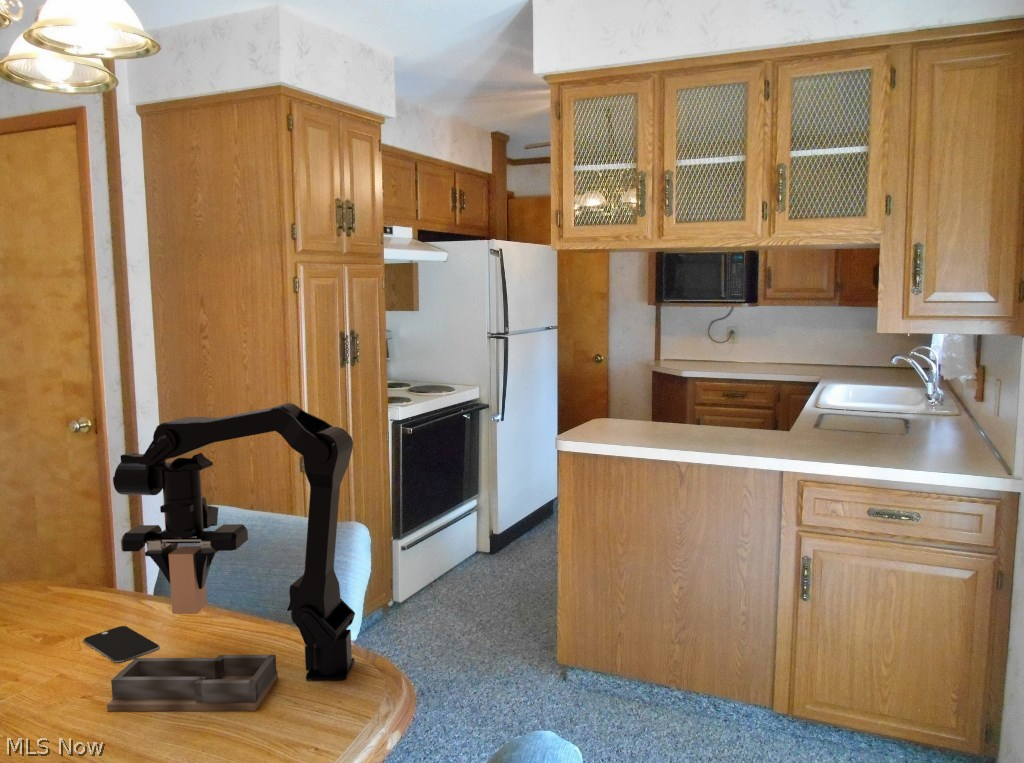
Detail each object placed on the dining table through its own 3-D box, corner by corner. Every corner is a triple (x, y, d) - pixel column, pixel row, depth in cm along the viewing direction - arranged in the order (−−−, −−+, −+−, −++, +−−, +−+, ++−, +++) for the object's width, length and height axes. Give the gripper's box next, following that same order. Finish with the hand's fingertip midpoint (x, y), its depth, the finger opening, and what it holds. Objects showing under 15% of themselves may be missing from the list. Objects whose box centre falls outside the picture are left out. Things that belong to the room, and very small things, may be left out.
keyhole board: (277, 677, 121) (276, 653, 121) (255, 710, 111) (253, 684, 111) (142, 677, 122) (140, 653, 121) (107, 711, 112) (105, 685, 111)
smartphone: (124, 624, 142) (162, 646, 132) (124, 628, 142) (162, 650, 132) (80, 638, 136) (116, 662, 126) (80, 642, 136) (116, 667, 126)
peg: (207, 604, 127) (203, 546, 126) (196, 613, 123) (192, 554, 122) (183, 604, 127) (179, 546, 126) (172, 613, 123) (168, 554, 122)
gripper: (257, 483, 131) (262, 570, 133) (151, 484, 132) (156, 571, 133) (232, 500, 120) (237, 595, 122) (116, 501, 121) (122, 595, 122)
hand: (188, 588), depth 125 cm, fingers closed on peg, 4 cm apart
